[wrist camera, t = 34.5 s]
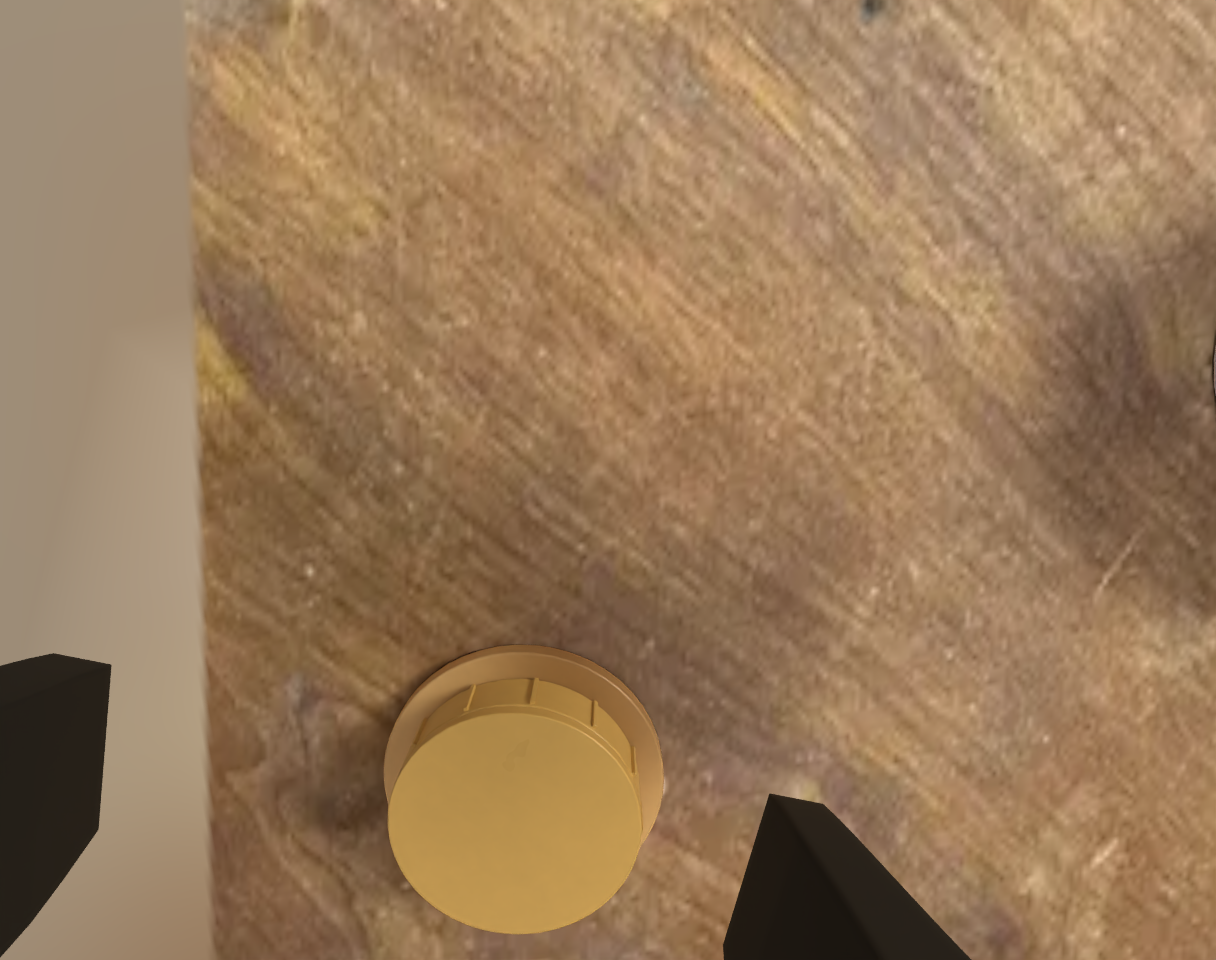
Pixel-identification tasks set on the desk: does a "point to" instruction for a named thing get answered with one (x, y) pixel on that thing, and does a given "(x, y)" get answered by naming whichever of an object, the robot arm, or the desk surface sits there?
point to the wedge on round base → (1215, 370)
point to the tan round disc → (547, 668)
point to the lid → (517, 807)
